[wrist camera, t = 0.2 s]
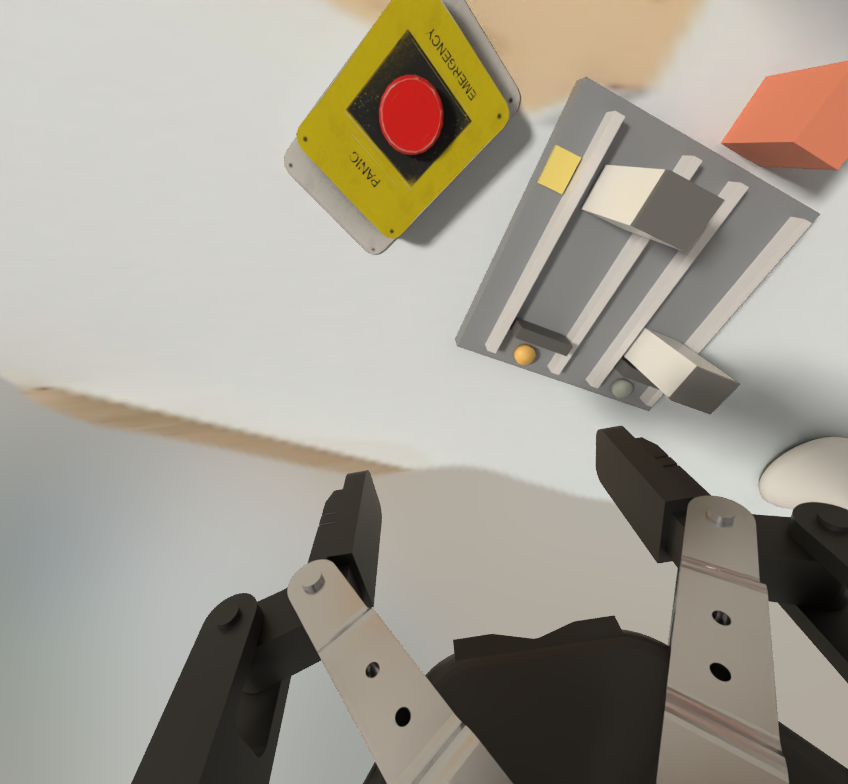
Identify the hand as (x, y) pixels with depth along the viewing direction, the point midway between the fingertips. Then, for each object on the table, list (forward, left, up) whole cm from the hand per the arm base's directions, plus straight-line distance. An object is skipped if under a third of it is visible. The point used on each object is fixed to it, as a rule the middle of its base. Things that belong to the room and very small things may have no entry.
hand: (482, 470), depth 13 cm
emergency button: (-9, -6, -23) cm, 25 cm away
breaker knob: (-2, +21, -20) cm, 29 cm away
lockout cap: (-19, +18, -22) cm, 34 cm away
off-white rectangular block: (-11, +10, -20) cm, 25 cm away
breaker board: (-6, +15, -22) cm, 27 cm away
